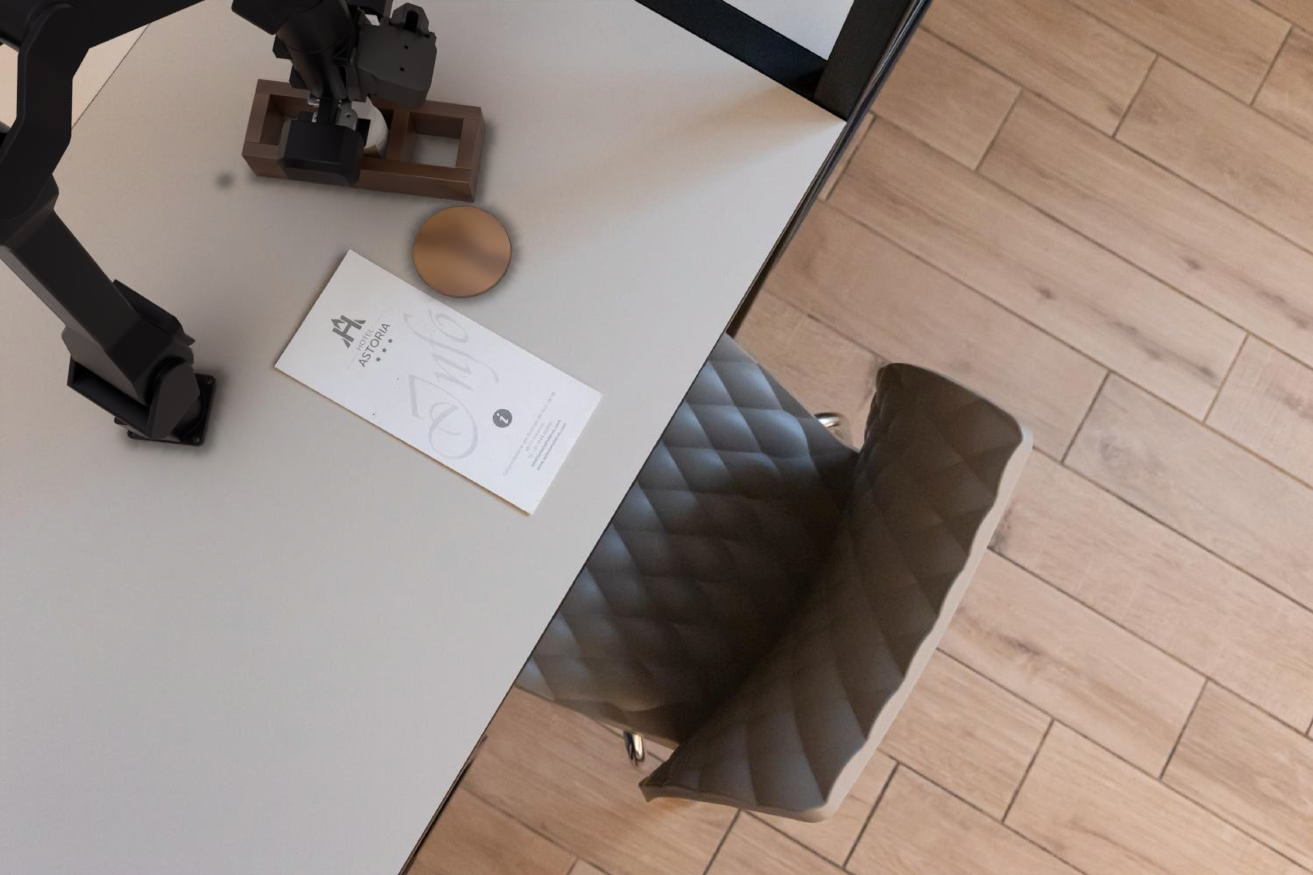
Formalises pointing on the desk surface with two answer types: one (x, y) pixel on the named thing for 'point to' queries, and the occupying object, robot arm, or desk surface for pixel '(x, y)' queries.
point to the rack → (404, 125)
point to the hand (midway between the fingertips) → (360, 127)
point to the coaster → (462, 251)
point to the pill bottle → (373, 129)
